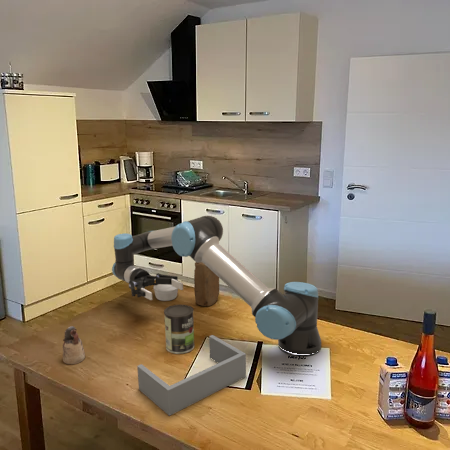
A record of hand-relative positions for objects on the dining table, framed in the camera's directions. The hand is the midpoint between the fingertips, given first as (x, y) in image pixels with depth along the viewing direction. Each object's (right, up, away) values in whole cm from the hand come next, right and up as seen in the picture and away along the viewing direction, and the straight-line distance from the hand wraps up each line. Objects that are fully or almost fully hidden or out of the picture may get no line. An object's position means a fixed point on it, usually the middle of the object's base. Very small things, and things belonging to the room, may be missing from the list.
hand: (167, 291), depth 169 cm
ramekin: (-5, -8, +39) cm, 40 cm away
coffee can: (+5, -19, -5) cm, 20 cm away
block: (+14, -10, +33) cm, 36 cm away
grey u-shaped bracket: (+11, -24, -26) cm, 38 cm away
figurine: (-30, -22, -12) cm, 39 cm away
